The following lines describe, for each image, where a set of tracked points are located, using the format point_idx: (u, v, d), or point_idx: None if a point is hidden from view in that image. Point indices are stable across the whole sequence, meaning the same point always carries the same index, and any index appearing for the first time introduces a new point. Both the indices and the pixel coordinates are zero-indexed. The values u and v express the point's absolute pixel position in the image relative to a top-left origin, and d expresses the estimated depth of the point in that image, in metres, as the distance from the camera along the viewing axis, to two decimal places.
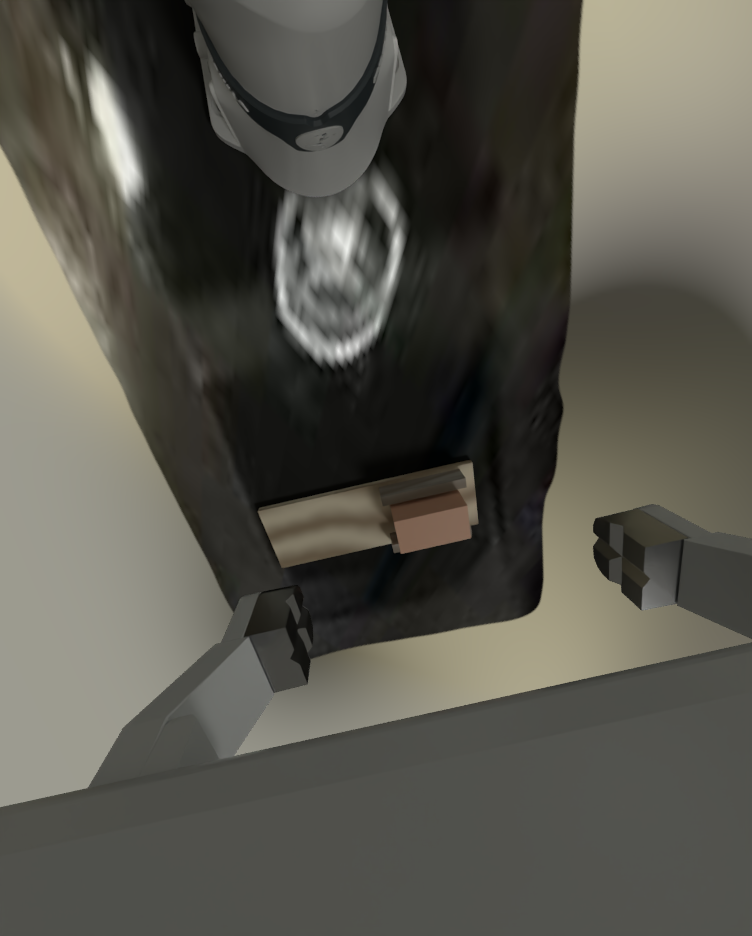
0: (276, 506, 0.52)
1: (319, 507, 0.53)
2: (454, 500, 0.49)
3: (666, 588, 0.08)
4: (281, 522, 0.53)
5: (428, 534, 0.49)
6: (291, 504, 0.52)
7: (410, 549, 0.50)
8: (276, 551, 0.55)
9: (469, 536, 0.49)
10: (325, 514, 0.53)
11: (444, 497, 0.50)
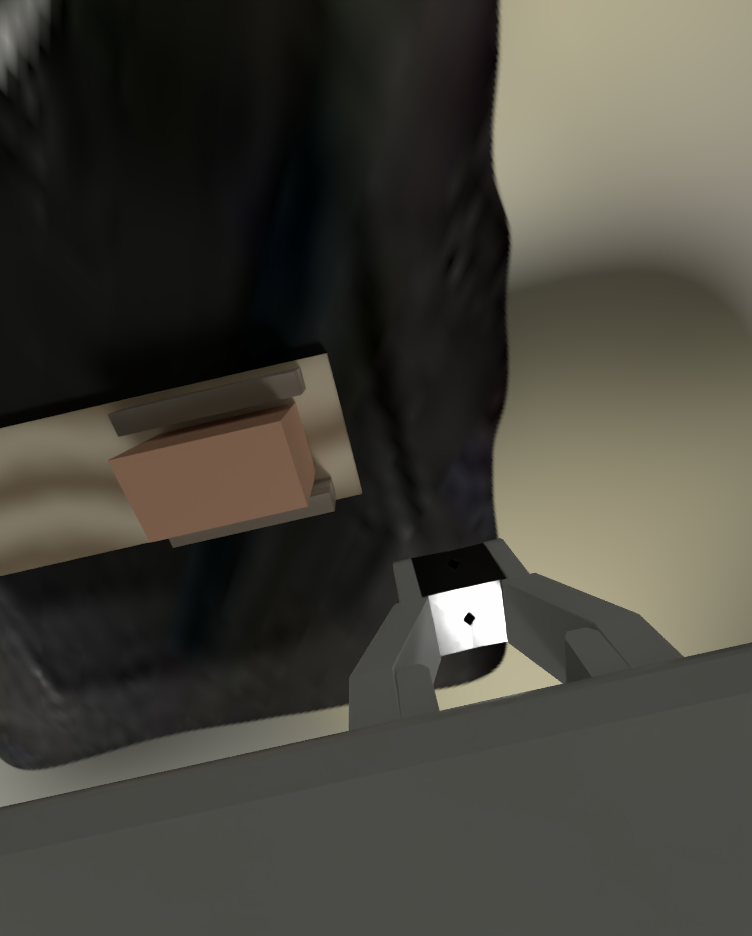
0: None
1: (17, 450, 0.26)
2: (266, 418, 0.22)
3: (494, 626, 0.08)
4: None
5: (203, 494, 0.21)
6: None
7: (170, 532, 0.22)
8: None
9: (303, 502, 0.22)
10: (34, 466, 0.26)
11: (254, 418, 0.23)
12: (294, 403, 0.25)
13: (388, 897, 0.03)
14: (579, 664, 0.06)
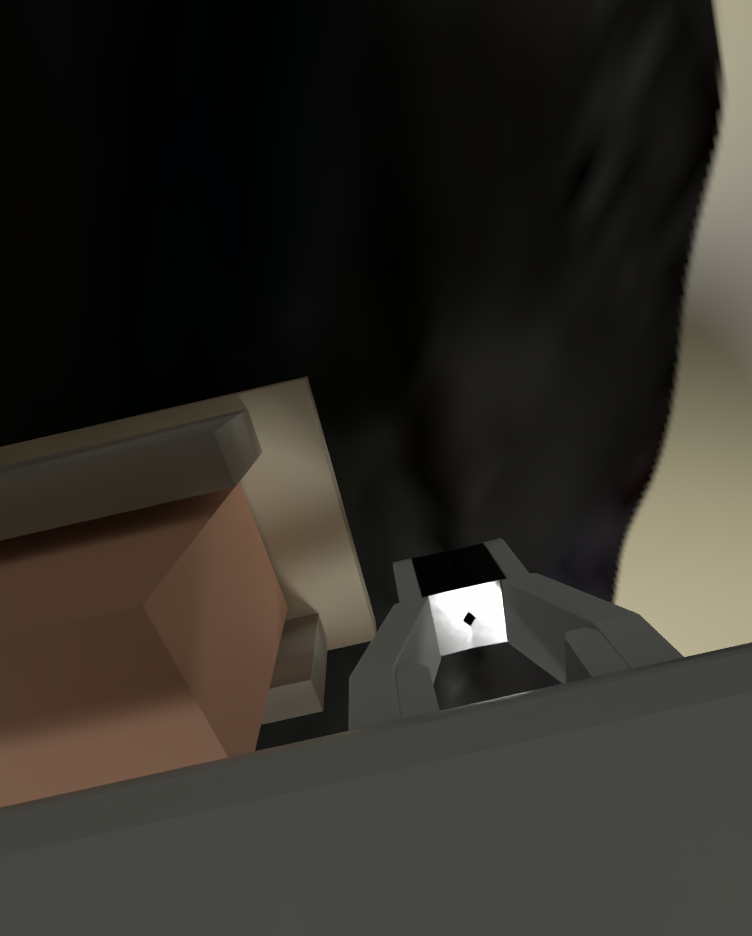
0: None
1: None
2: (135, 561, 0.08)
3: (494, 626, 0.08)
4: None
5: None
6: None
7: None
8: None
9: None
10: None
11: (122, 541, 0.09)
12: None
13: (388, 897, 0.03)
14: (579, 664, 0.06)
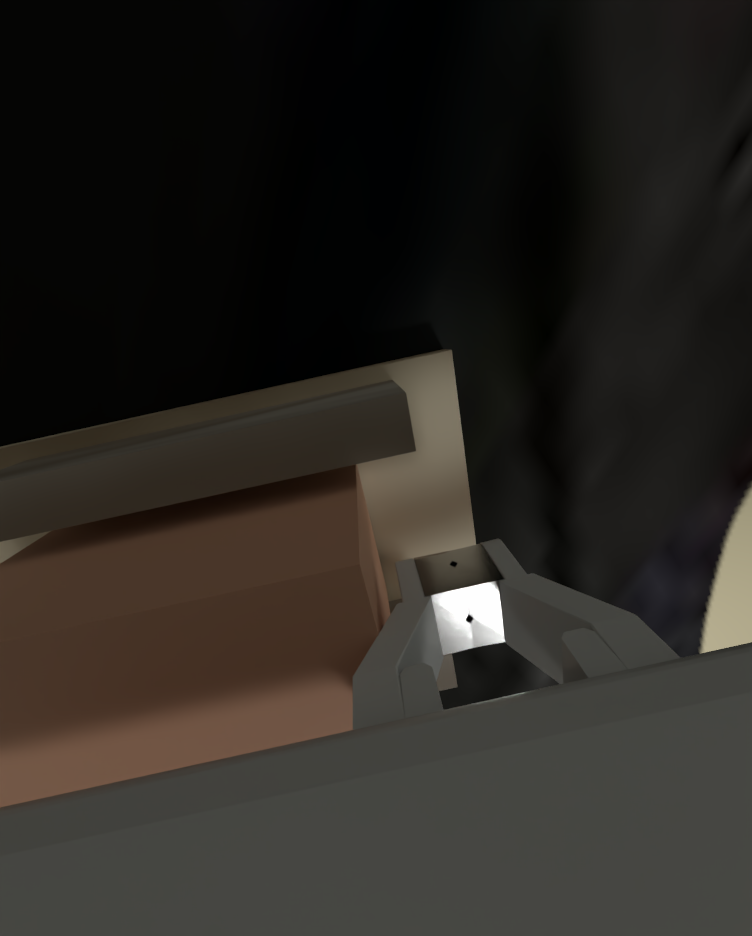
0: None
1: None
2: (305, 527, 0.08)
3: (492, 627, 0.08)
4: None
5: (128, 748, 0.07)
6: None
7: None
8: None
9: None
10: None
11: (270, 512, 0.09)
12: None
13: (388, 897, 0.03)
14: (576, 665, 0.06)
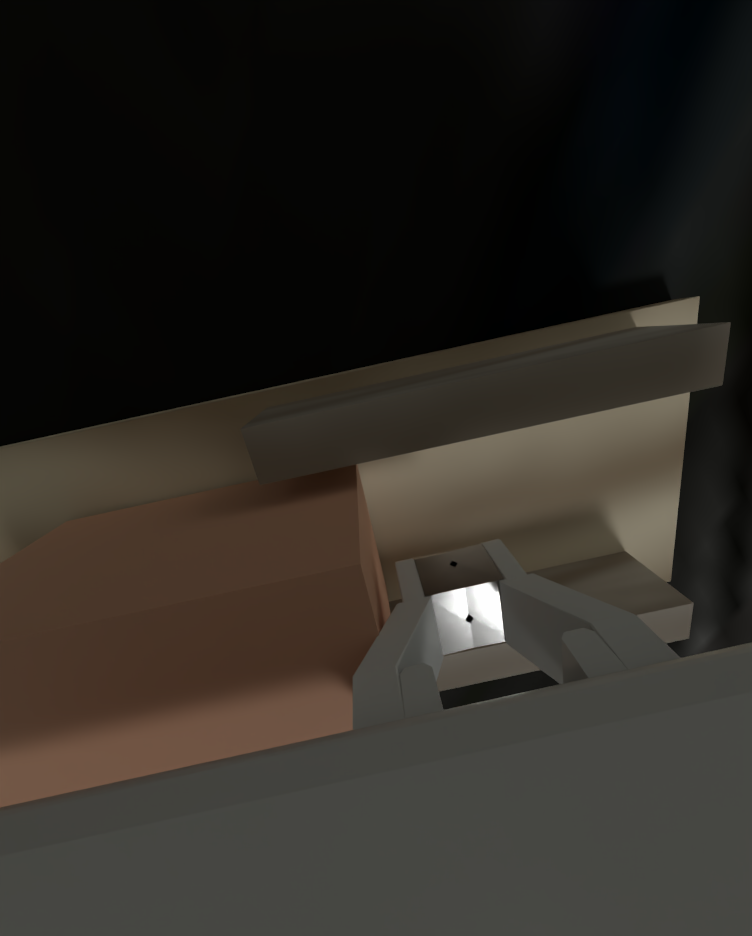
0: None
1: (9, 500, 0.12)
2: (306, 527, 0.08)
3: (492, 627, 0.08)
4: None
5: (128, 747, 0.07)
6: None
7: None
8: None
9: None
10: (45, 532, 0.12)
11: (271, 511, 0.09)
12: None
13: (388, 896, 0.03)
14: (576, 665, 0.06)
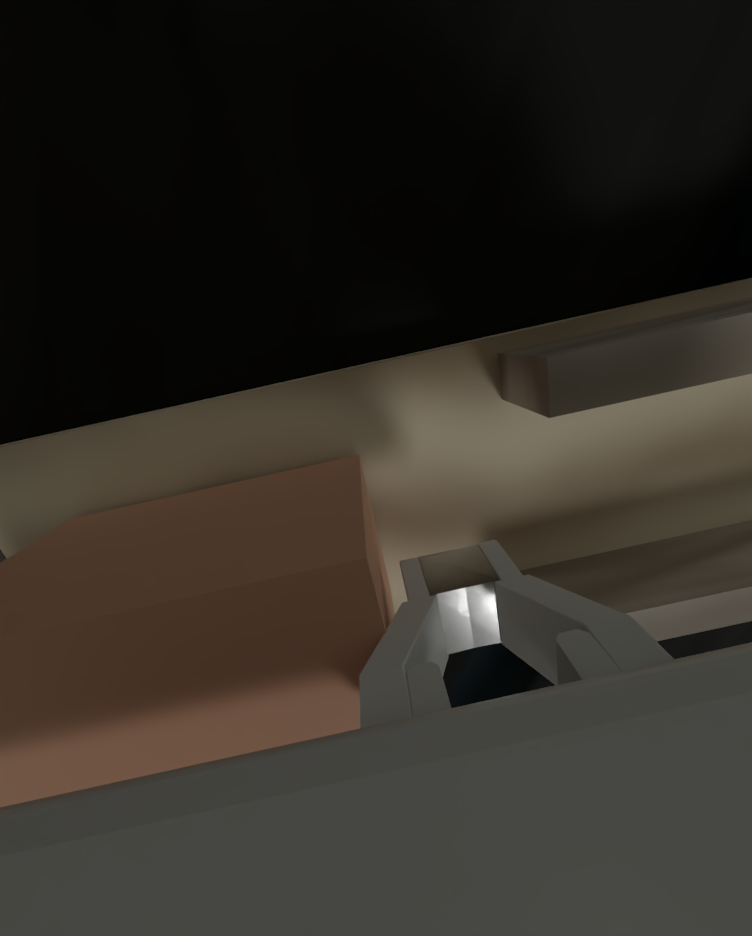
0: (31, 439, 0.11)
1: (229, 449, 0.12)
2: (310, 522, 0.08)
3: (488, 628, 0.08)
4: (66, 515, 0.12)
5: (135, 743, 0.07)
6: (97, 429, 0.11)
7: None
8: None
9: None
10: None
11: (275, 508, 0.09)
12: (359, 459, 0.11)
13: (388, 897, 0.03)
14: (570, 666, 0.06)
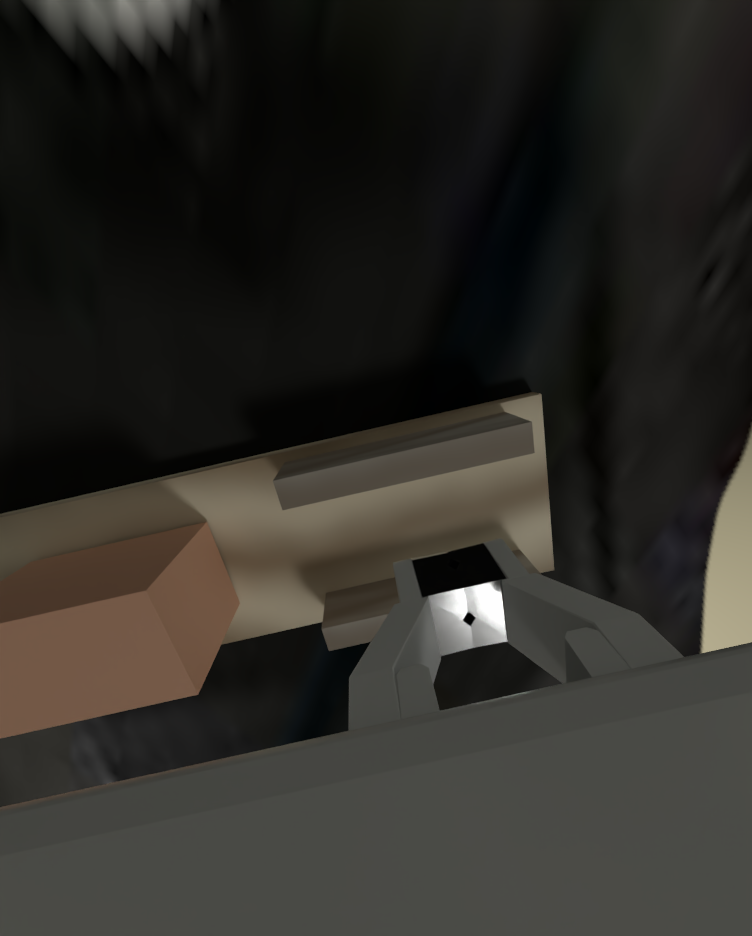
0: (8, 515, 0.19)
1: (127, 519, 0.19)
2: (142, 570, 0.16)
3: (494, 626, 0.08)
4: (29, 559, 0.20)
5: (45, 683, 0.15)
6: (46, 509, 0.19)
7: (4, 731, 0.15)
8: None
9: (191, 689, 0.15)
10: None
11: (135, 559, 0.17)
12: (203, 525, 0.19)
13: (388, 897, 0.03)
14: (579, 664, 0.06)
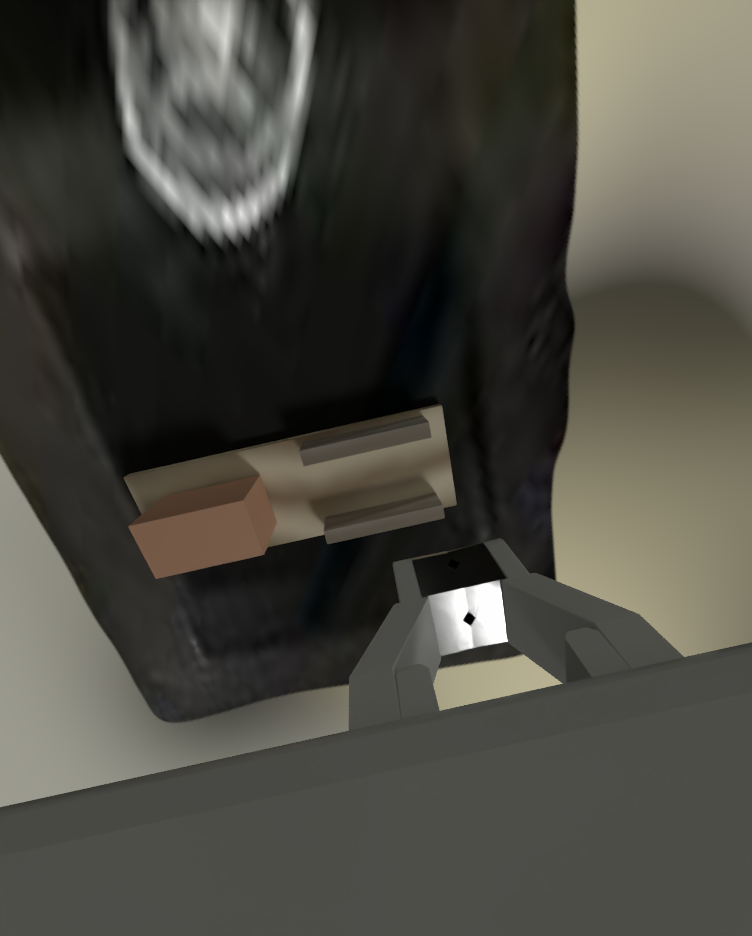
0: (152, 470, 0.35)
1: (216, 473, 0.35)
2: (235, 494, 0.32)
3: (494, 626, 0.08)
4: (161, 495, 0.36)
5: (192, 547, 0.31)
6: (173, 467, 0.35)
7: (169, 572, 0.32)
8: None
9: (260, 552, 0.32)
10: None
11: (228, 491, 0.33)
12: (259, 476, 0.35)
13: (388, 897, 0.03)
14: (579, 664, 0.06)
